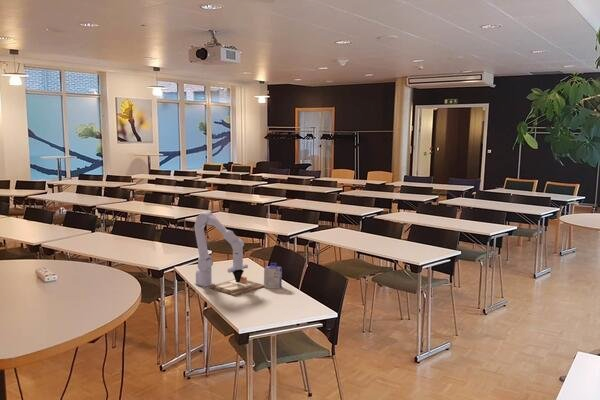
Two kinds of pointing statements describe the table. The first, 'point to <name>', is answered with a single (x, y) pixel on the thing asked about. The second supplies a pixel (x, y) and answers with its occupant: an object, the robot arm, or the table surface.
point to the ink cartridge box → (273, 276)
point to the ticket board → (235, 288)
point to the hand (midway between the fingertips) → (237, 282)
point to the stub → (242, 282)
